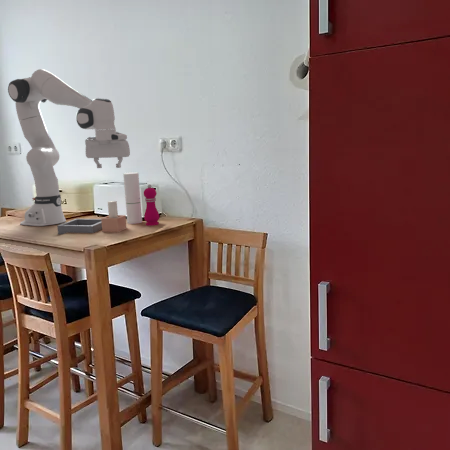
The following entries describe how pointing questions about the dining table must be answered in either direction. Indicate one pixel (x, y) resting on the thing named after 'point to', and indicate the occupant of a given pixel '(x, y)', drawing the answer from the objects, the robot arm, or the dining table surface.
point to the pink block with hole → (113, 223)
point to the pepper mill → (151, 207)
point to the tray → (80, 226)
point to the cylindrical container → (132, 197)
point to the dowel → (112, 209)
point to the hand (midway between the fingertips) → (108, 167)
